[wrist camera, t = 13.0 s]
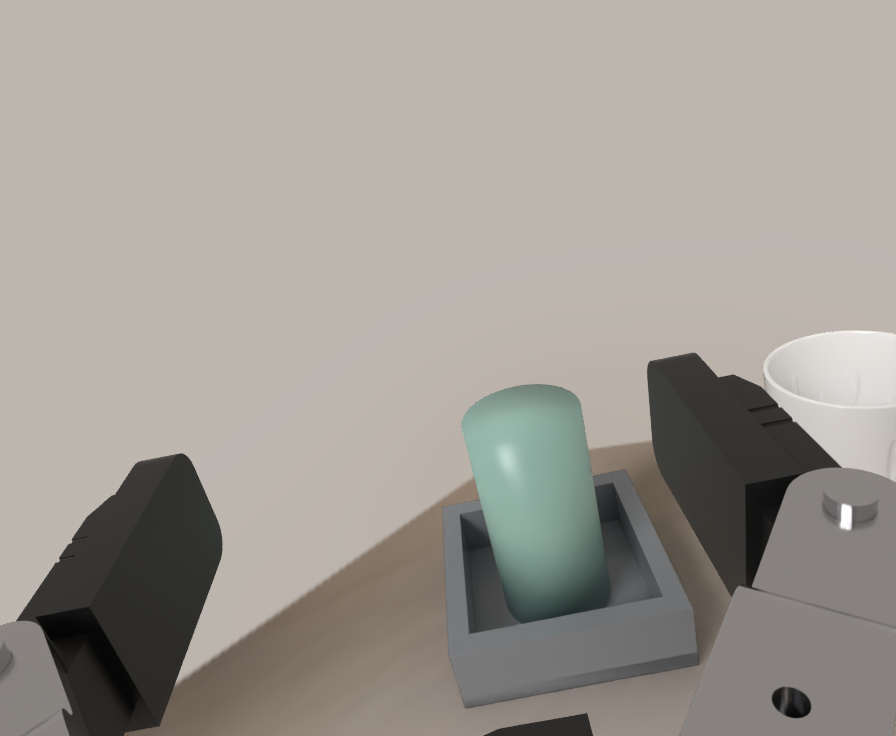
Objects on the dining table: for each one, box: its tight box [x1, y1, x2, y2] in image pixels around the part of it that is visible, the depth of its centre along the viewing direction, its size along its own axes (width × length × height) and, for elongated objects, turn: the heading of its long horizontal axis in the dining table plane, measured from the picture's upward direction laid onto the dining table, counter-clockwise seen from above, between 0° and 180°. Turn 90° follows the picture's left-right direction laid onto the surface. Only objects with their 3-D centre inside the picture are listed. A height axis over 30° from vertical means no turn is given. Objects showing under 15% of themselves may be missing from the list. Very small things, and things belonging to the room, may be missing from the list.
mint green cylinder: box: [462, 384, 611, 624], centre depth 34 cm, size 6×6×11 cm
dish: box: [442, 469, 699, 708], centre depth 36 cm, size 11×11×4 cm
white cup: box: [763, 330, 896, 482], centre depth 34 cm, size 8×8×10 cm
